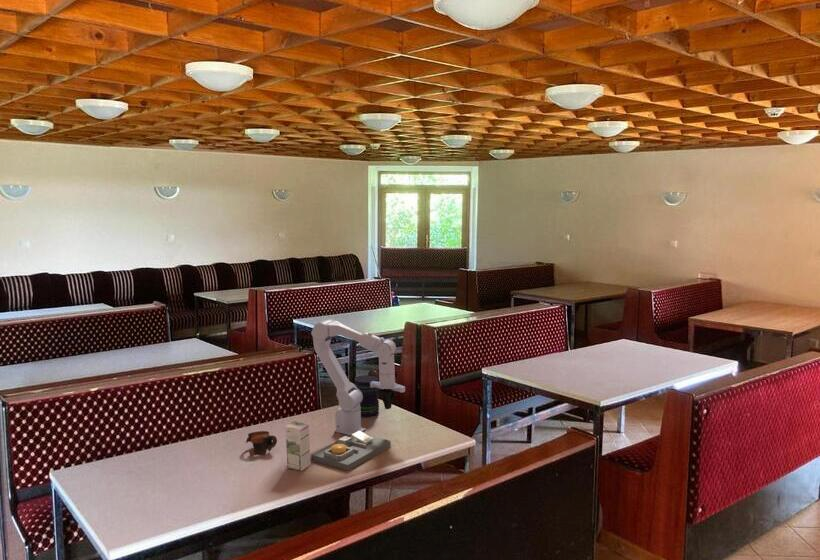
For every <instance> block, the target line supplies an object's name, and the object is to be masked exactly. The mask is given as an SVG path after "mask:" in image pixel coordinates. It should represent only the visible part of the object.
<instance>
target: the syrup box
mask: <svg viewBox="0 0 820 560" xmlns="http://www.w3.org/2000/svg"><path fill="white" fill-rule="evenodd" d="M285 443H286V446H285V448H286V465H287V466H286V467H287V469H290V470H296V471H300V472H301V471H303V470H305V469H307V468H308V467H309V466H310V465H311V444H310V443H311V441H310V424H309V422H301V421H291V423H289V424H287V425H286V426H285Z"/></svg>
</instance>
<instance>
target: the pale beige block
mask: <svg viewBox="0 0 820 560" xmlns="http://www.w3.org/2000/svg"><path fill="white" fill-rule="evenodd" d="M347 436H348V435H344V436H342V437H340V438H339V439H338V440H337V441H338V444H344V445H346V446H347V447H348V446H349V445H351V444H352V438H351V437H347Z"/></svg>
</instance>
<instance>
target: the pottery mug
mask: <svg viewBox="0 0 820 560" xmlns="http://www.w3.org/2000/svg"><path fill="white" fill-rule="evenodd" d="M247 435H248V436H247V438H246V440H245V443H246V444H247V443H249V442H250V443H251V444H252V447H253V448H250V449H249V450H248V452H249V456H250V457H251V456H265V455H267V450H268V452H270V451H271V450H272V449H273V448H275V447H276V445H277V444H278V443H277V442H278V438H277V437H276V436H275V435H272V434H271V435H270V432H269V431H267V430H260V431H254V432H249V433H248V434H247Z"/></svg>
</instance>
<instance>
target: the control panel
mask: <svg viewBox="0 0 820 560" xmlns="http://www.w3.org/2000/svg"><path fill="white" fill-rule="evenodd" d="M354 433H356V432H354ZM354 433H352V434H354ZM352 434H350V435H346V436H347V437H351V438H352V444H351V445H349V446H348V447H347V446H346V452H345V453H343V454H341V455H337V454H334V453H331V446H333V445H335V444H338V440H337V441H334V442H333V443H331V444H329V445H327V446H324V447H323V448H321V449H319V450H317V451H315V452H313V453H310V461H314V462H317V463H320V464H324V465H328V466H330V467H333V466H334V467H333V468H337V467H338V469H340V468H341V469H340V470H343V469H345V470H344V471H347V470H349V471H351V470H352V469H354V468H356V467H357V466H359V465H361V464H363V463H364V462H366V461H368V460H369V459H371V458H373V457H374V456H376V455H378V454H380V453H381V452H383V451H385V450H387V449H388V448H390V447H392V446H391V444H392V443H391V441H392V440H390V439H385V438H381V437H378V436H377V437H376V436H372V435H370V434H369V435H368V434H367V435H368V436H370V437H372V438H373V441H371V442H369V443H367V444H364V443H362V442H360V441H359V440H357V439H355V438H353V437H352ZM353 467H354V468H353ZM350 469H351V470H350Z"/></svg>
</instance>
